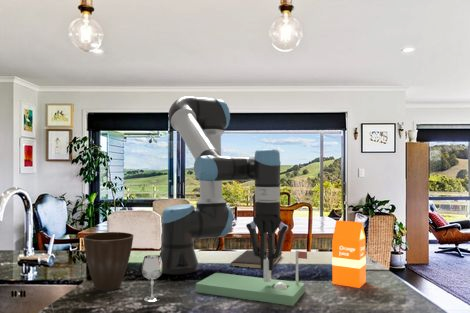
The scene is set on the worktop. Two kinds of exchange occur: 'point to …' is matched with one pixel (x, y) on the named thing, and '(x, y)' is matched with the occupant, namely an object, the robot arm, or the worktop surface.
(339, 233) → the orange juice
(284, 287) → the ball
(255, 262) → the hardcover book
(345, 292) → the worktop surface
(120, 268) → the plant pot
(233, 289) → the putting deck
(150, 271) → the wineglass
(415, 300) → the worktop surface
